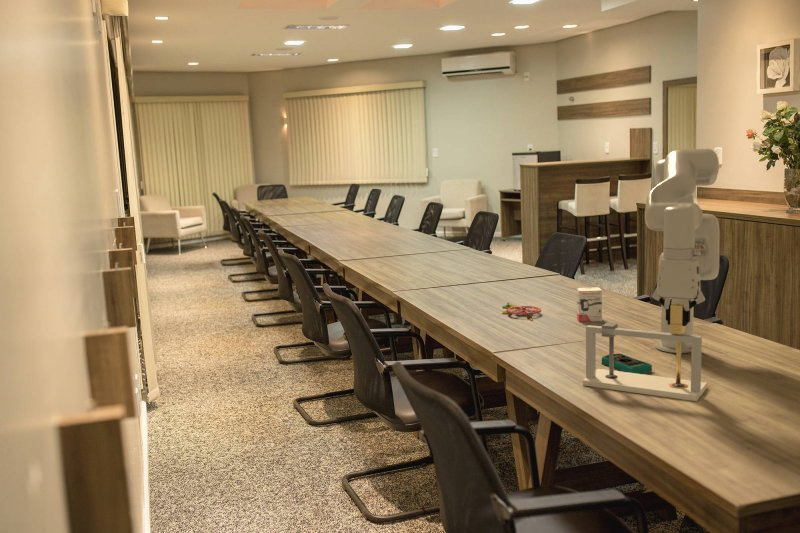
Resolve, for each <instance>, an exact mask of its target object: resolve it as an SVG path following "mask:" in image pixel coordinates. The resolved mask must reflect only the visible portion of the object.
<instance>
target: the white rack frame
mask: <svg viewBox="0 0 800 533" xmlns="http://www.w3.org/2000/svg"><path fill="white" fill-rule="evenodd" d="M596 334H600V335H601V337H605V338H608V340H609V341H608V342H609V343H608V344H609V346H608V349H609V350H608V351H609V353H608V355H609V366H608V369H604V368H596V362H597V361H596V360H597V359H596V356H597V355H596V350H597V349H596V348H597V347H596V344H597V342H596V338H597V337H596ZM616 336H622V337H629V338H630V337H632V338H641V339H649V340H650V339H652V340H659V341H661V340H669V341H679V342H688V343H692V347H691V352H690V353H691V354H690V355H691V358H690V363H691V364H690V380H689V379H683V378H681V384H676V377H675V378H674V377H667V376H659V375H650V374H645V373H644V374H636V373H629V372H622V371H620V370H615V368H614V354H615V351H614V350H615V349H614V348H615V345H614V344H615V337H616ZM702 338H703V337H702V335H695V334H693V335H685V334H682V335H681V334H670V333H665V332H661V331H653V330H645V329H643V330H642V329H641V330H640V329H631V328H622V327H618V323H615V322H608V321H607V322H605V323H604V324H602V325H600V326H599V325H591V324H590V325H589V324H588V325H586V326H585V378H583V379H582V386H584V387H590V388H591V387H593V388H599V389H605V390H606V389H607V390H614V391H623V392H627V393H637V394H641V395H643V394H644V395H650V396H655V397H656V396H657V397H662V398H668V399H671V398H672V399H676V400H683V401H684V400H685V401H691V402H692V401H693V402H697V401H698V400H699V398H700V397H701V396H702V395H703V394H704V392H705V391H706V390H707V389H708V382H704V381H702V342H703V340H702Z"/></svg>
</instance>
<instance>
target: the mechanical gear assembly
mask: <svg viewBox="0 0 800 533" xmlns="http://www.w3.org/2000/svg"><path fill="white" fill-rule="evenodd" d="M506 303H507V304H506V305H502V309H504V310H506V311H501V312H502V315H510V314H511V315H517V316H518V315H520V316H525V317H526V318H527V320H530V321H531V322H534V319H533V316H532V315H537V314H540V313H541V312H542V308H540V307H537V306H533V305H517V306H515V305H513V303H510V302H508V301H507V302H506Z"/></svg>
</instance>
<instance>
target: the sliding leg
mask: <svg viewBox="0 0 800 533" xmlns="http://www.w3.org/2000/svg"><path fill="white" fill-rule="evenodd" d="M683 311H684V304H682V303H673V304H671V307H670V334H681V335H682V334H683V333H684V332H685V330H686V326H683V325H682V312H683ZM675 355H676V356H675V358H676V359H675V378H676V384H681V379H682V378H681V377H682V375H681V374H682V353H681V342H679V341H676V353H675Z"/></svg>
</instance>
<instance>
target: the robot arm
mask: <svg viewBox="0 0 800 533" xmlns="http://www.w3.org/2000/svg"><path fill="white" fill-rule="evenodd" d="M654 167H655V169H654V170H655V177H656V181H657V185H656V186H655V187H653V188H652V189H651V190H650V192H648V193H647V194H648V195H647V197H646V201H645V209H644V210H645V211H644V222H645V225H646V227H647V228H648V229H649V230H651V231H653V232H663V245H662V246H663V247H662V251H663V252H661V254H660V255H659V258H658V272H657V273H658V274H657V282H656V288H655V289H654V291H653V293H652V294H651V298H652V299H654V300H655V301H657V302H659V303H660V305H661V309H660V310H661V313H660V314H661V318H660V319H661V320H660V324H661V325H660V332H665V333H670V307H671V304H673V303H682V304H684V311H683V312H682V325H683V326H686V330H685V332H684V333H683V334H685V335H694V307H695V306H696V305H698V304H701V303H704V302H705V301H706V298H705V295H704V293H703V292H702V290H701V287H702V286H701V281H711V280H715V279H716V278H717V277H718V276H719V273H720V236H721V235H720V234H721V232H720V223H719V219H718V218H717V216H716V215H714V214H710V213H703V210H702V208H701V207H700V206H699V204H697V203H695V202H694V199H695V198H694V197H693V194H694V193H695V190H696V189H697V188H696V187H698V186H701V187H702V186H705V187H707V186H711V185H714V184H715V183H716V181H717V178H718V174H719V170H720V160H719V157H718V155H717V153H716V151H714V150H713V149H710V148H689V149H687V148H686V149H676V150H673V151H671V152H669V153H668V154H667V155H666V156H665V158H663V159H659V160H658V161H657V162H656V165H655V166H654ZM699 245H700V246H702V247H703V248H696V247H695V246H699ZM691 347H692V343H688V342H681V354H689V353H691ZM655 348H656V349H657V350H659V351H663V352H666V353H672V354H676V341H669V340H659V341H657V342H656V343H655Z"/></svg>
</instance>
